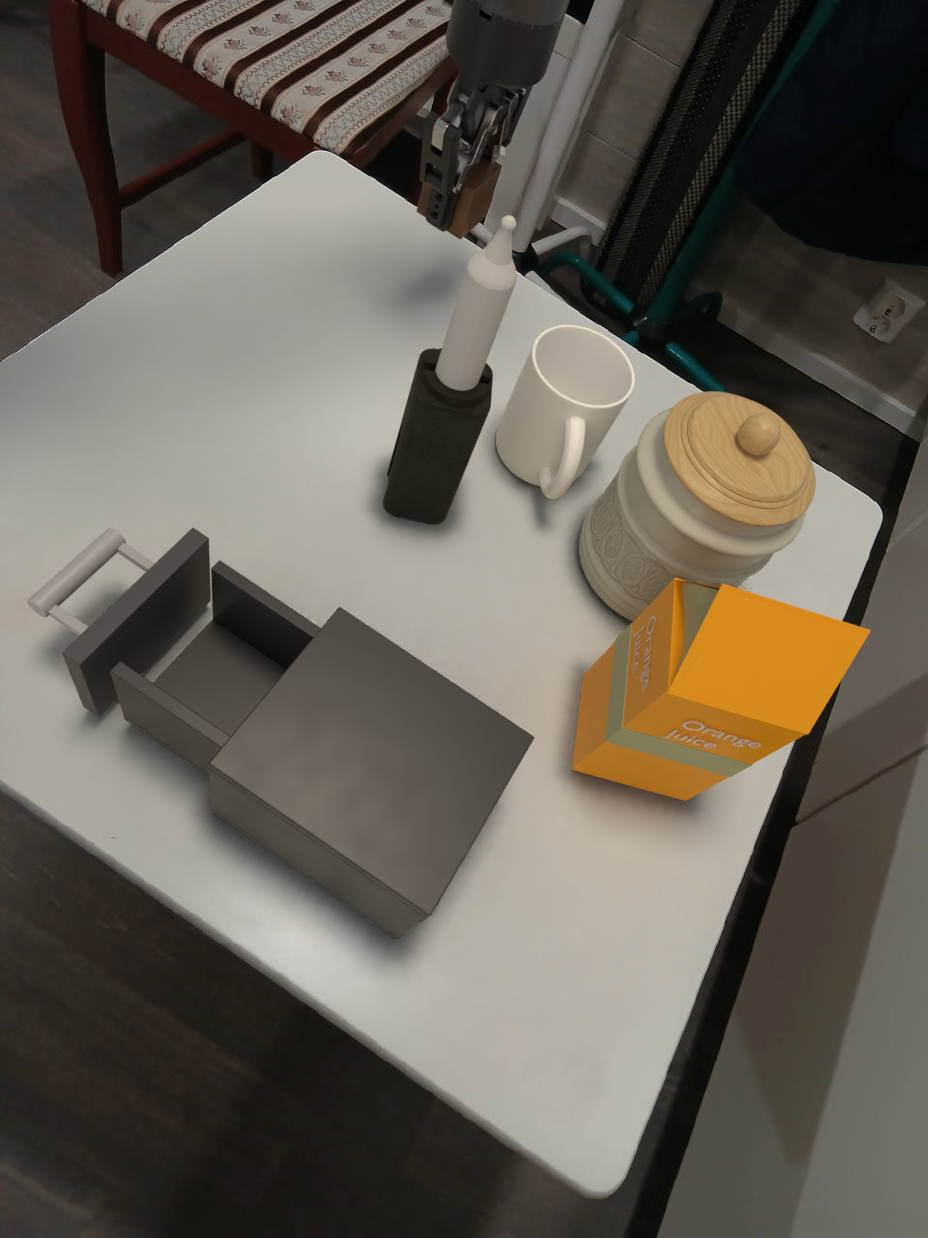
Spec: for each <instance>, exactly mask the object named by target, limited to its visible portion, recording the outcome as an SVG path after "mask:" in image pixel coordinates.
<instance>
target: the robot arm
mask: <svg viewBox="0 0 928 1238" xmlns="http://www.w3.org/2000/svg"><path fill="white" fill-rule="evenodd" d="M570 1H571V0H453V2H452V5H451V6H452V7H451V11H450V16H449V20H448V25H447V29H446V35H445V44H446V47H447V50H448V52H449V54H450V56H451V57H452V59H453V61H454V63H455V65H456V67H457V71H458V75H457V76H456V78H455V80H454V81H453V83H452V84H451V86H450V87H451V88H450V90H449V92H448V96H447V99H446V104H447V108H446V110H445V111H444V112H443V114H442V115H441V116H440V115H439V114H437V113H435V112H434V111H430V112H429V113H427V116H426V117H425V119H424V123H423V131H422V143H421V156H420V157H421V158H420V169H419V180H420V181H421V182H422V183H423V182H424V183H427V184H428V185H430V186H431V187H432V189H431V193H430V197H429V201H428V205H427V209H426V213H425V217H424V218H425V221H426V223H428V224H430V225H431V226H433V227H434V228H436V229H437V230H439V231H440V232H443V233H444V232H447V231H446V230H447V229H449V228H450V227H451V224H452V221H453V217H454V214H455V210H456V206H457V203H458V199H459V196H460V192H461V189H462V187H463V183H464V181H465V178H466V176H467V173H468V171H469V168H470V166H471V165H475V164H477V163H478V162H479V160H480V158H481V157H483V158H485V159H486V160H488V161H489V162H491V163H492V164H495V162H497V160H498V159H499V157H500V153H501V147H502V148H504V149H506V148H507V147H508V146H509V145H510V144H511V142H512V138H513V136H514V134H515V131H516V129H517V126H518V124H519V121H520V119H521V117H522V114H523V111H524V109H525V107H526V104H527V102H528V99H529V97H530V95H531V92H532V89H533V87H534V86H535V85H537V84H538V83H540V81H542V80H543V78H544V77H545V75H546V72H547V70H548V67H549V63H550V61H551V57H552V55H553V51H554V49H555V46H556V42H557V41H558V36H559V34H560V32H561V31H560V30H561V28H562V25H563V22H564V19H565V15H566V14H567V10H568V7H569V5H570ZM463 141H464V142H466V143H467V146H466V147H467V148H466V147H465V145H464V144H463ZM461 144H463V145H464V146H463V145H461ZM468 148H469V149H470V150H469V149H468ZM457 160H459V167H458V170H457V172H456V168H457Z"/></svg>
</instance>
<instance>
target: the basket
mask: <svg viewBox="0 0 928 1238" xmlns="http://www.w3.org/2000/svg"><path fill="white" fill-rule="evenodd" d="M117 554H118V555H120V556H122V557H123V558H124V559H126V560H128V561H129V562H131V563H132V564H133V565H135V566H137V568H140V569H141V570H142V571H144V573H143V574H142V575H141V576H140V577H139V578H137V580H136V581H135V582H134V583H133V584H131V586H130V587H129V588H127V589H126V590H125V591H124V592H123V594H122V595H120V596H119V597H118V598H117V599H116V600H115V601H114V602H113V603H112V604H111V605H110V606H109V607H108V608H107V609H105V610H104V612H102V614H100V616H98V617H97V618H96V619H95V620H94V621H93V622H92V623H91V624H90V625H89V626H88V625H86V624H85V623H84V622H82V621H81V620H80V619H78V618H77V617H75V616H74V615H72V614H71V613H69V612H68V611H66V610H65V609H63V608H62V607H60V606H61V605H62V604H64V603H65V601H67V600H68V598H69V597H71V596H72V595H73V594H74V593H75V592H77V590H79V589H80V587H82V586H83V585H84V584H86V582H87V581H88V580H89V579H90V578H92V577H93V576H94V575H95V574H96V573H97V572H98V571H99V570H100V569H102V568H103V566H105V565H106V564H107V563H108V562H109V561H110V560H112V558H113V557H115V555H117ZM210 560H211V559H210V538H209V537H208V536H207V535H205V534H204V533H203V532H201V531H199V530H198V529H196V528H195V527H192V528H190V529H189V531H187V532H186V533H185V534H184V535H183V536H182V537H181V538H179V540H178V541H177V542H176V543H175V544H174V545H173V546H171V547H170V549H168V550H167V551H166V552H165V553H164V554H163V555H162V556H161V557H160V558H159V559H158V560H157V561H156V562H153V561H152V560H151V559H150V558H148V557H146V556H145V555H143V554H142V553H140V552H139V551H137V550H136V549H135V548H133V547H131V546H130V545H128V544H127V540H126V539H125V537H124V536H123V535H122V534H121V533H120V532H119V531H118V530H116V529H115V528H112V527H108V528H107V529H106V530H104V531H103V532H102V533H100V535H99V536H98V537H97V538H95V539H94V540H93V541H92V542H90V544H89V545H88V546H86V547H85V548H84V549H82V551H81V552H80V553H78V554H77V555H76V556H75V557H73V559H72V560H71V561H69V562H68V563H67V564H66V565H65V566H64V567H62V569H60V570H59V571H58V572H57V573H56V574H55V575H53V577H51V578H50V579H49V580H48V581H47V582H45V584H43V585H42V586H41V587H40V588H39V589H38V590H37V591H36V592H34V593H33V594H32V595H31V596H30V597H29V598H27V600H26V603H27V605H28V607H29V608H30V609H31V610H32V611H33V612H35V613H36V614H37V615H39V616H40V617H42V618H48V617H49V616H50V618H52V619H54V620H55V621H57V622H58V623H59V624H61V625H63V626H64V627H65V628H67V629H68V630H70V631H71V632H73V633H74V634H75V635H77V637H76V638H75V639H74V640H73V641H72V642H71V643H70V644H69V645H68V646H67V647H65V649H64V650H62V652H61V655H62V658H63V660H64V663H65V664H66V668H67V670H68V673H69V675H70V678H71V680H72V682H73V685H74V687H75V689H76V692H77V694H78V697H79V699H80V702H81V704H82V707H83V708H84V709H85V710H87V711H89V712H90V713H91V714H93V715H94V716H95V717H97V718H100V717H101V716H102V715H103V714H104V713H105V712H106V711H107V710H108V709H109V708H110V707H111V706H112V705H113V704H114V703H115V702H116V701H117V700H118V702H119V706H120V709H121V712H122V717H123V719H124V721H126V722H127V723H129V724H130V725H132V726H133V727H135V728H136V729H138V730H139V731H141V733H143V734H145V735H146V736H148V737H149V738H151V739H152V740H153V741H155V742H156V743H158V744H160V745H161V746H162V747H163V748H165V749H167V750H168V751H169V752H171V753H172V754H174V755H175V756H177V757H178V758H179V759H181V760H183V762H185V763H187V764H188V765H190V766H191V767H193V768H194V769H196V770H197V771H198V772H200V773H201V774H202V775H204V776H206V777H207V778H209V762H210V761H211V760H212V758H213V757H214V756H215V755H216V754H217V752H218V751H219V750H220V749H221V748H222V746H223V745H224V744H225V743H226V742H227V740H228V739H229V738H230V737H231V736H232V734H233V733H234V732H235V731H236V730H237V728H238V727H239V726H240V725H241V724H242V722H243V721H244V720H245V719H246V718H247V716H248V715H249V714H250V713H251V712H252V710H253V709H254V708H255V707H256V706H257V704H258V703H259V702H260V701H261V700H262V698H263V697H264V696H265V695H266V694H267V692H268V691H269V690H270V689H271V688H272V686H273V685H274V684H275V683H276V682H277V680H278V679H279V678H280V677H281V676H282V674H283V673H284V672H285V671H286V670H287V669H288V667H289V666H290V665H291V664H292V663H293V661H294V660H295V659H296V658H297V657H298V655H299V654H300V653H301V652H302V651H303V649H304V648H305V647H306V646H307V645H308V643H309V642H310V641H311V640H312V639H313V637H314V636H315V635H316V634H317V633H318V631H319V630H320V629H321V628H322V627H320V626H319V625H317V624H316V623H314V622H313V621H311V620H310V619H309V618H307V617H306V616H304V615H303V614H301V613H300V612H298V611H297V610H295V609H293V608H292V607H290V606H289V605H288V604H286V603H285V602H283V601H281V600H280V599H278V598H277V597H276V596H274V595H273V594H271V593H270V592H268V591H266V590H265V589H264V588H262V587H261V586H259V585H258V584H256V583H255V582H253V581H252V580H250V579H249V578H247V577H246V576H244V575H243V574H241V573H240V572H238V571H237V570H235V569H234V568H233V567H231V566H230V565H228V564H226V563H225V562H223V561H222V560H221V559H220V560H219V559H218V561H217V562H216V563H215V564H213V566H212V567H211V561H210ZM210 602H211V606H212V607H211V608H212V609H211V610H212V612H211V613H212V619H211V620H210V621H209V623H208V624H207V625H206V626H205V627H204V628H203V629H202V630H201V631H200V632H199V633H198V634H197V635H196V637H194V638H193V640H192V641H191V642H190V643H189V644H188V645H186V647H185V648H184V649H183V650H182V651H181V652H180V653H179V655H178V656H177V657H175V659H174V660H173V661H172V662H171V663H170V664H169V665H168V666H167V667H166V668H165V669H164V670H163V672H162V673H161V674H160V675H159V676H158V677H157V678H155V680H154V681H153V682H152V681H150V680H149V679H148V678H146V677H145V676H143V675H142V673H143V672H144V671H145V670H146V669H147V668H148V667H149V666H150V665H151V664H152V663H153V662H154V661H155V660H156V659H157V658H158V657H159V655H161V654H162V653H163V652H164V650H165V649H166V648H167V647H168V646H169V645H170V644H171V643H173V641H174V640H175V639H176V638H177V637H178V636H179V635H180V634H181V633H182V632H183V630H184V629H186V627H188V625H190V623H191V622H192V621H193V620H194V619H195V618H196V617H197V616H198V615H199V614H200V613H201V612H202V611H203V610H204V609H205V608H206V607H207V606H208V605H209V603H210Z"/></svg>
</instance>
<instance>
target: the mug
mask: <svg viewBox="0 0 928 1238" xmlns="http://www.w3.org/2000/svg"><path fill="white" fill-rule="evenodd" d="M635 375H636V374H635V370H634V367H633V365H632V362H631V360H630V359H629V357H628V356H627V354H626V353H625V351H623V349H622V348H621V347H620V346H619V345H618V344H616V342H614V341H613V340H612V339H610V338H609V337H608V336H606V335H604V334H603V333H600V332H599V331H596V330H595V329H592V328H589V327H585V326H582V325H575V324H559V325H554V326H552V327H549V328H547V329H545V330H544V331H542V332H541V333H540V334H539V335H537V337H536V338H535V339H534V342H533V343H532V345H531V348H530V351H529V353H528V355H527V358H526V360H525V362H524V364H523V367H522V369H521V371H520V373H519V376H518V378H517V380H516V383H515V385H514V387H513V390H512V392H511V394H510V397H509V399H508V401H507V403H506V406H505V408H504V411H503V413H502V415H501V418H500V420H499V422H498V426H497V428H496V433H495V446H496V450H497V453H498V456H499V458H500V460H501V461H502V463H503V464H504V465H505V467H506V469H508V470H509V471H510V472H511V473H512V474H514V475H515V477H517V478H519V479H520V480H522V481H524V482H526V483H528V484H531V485H533V486H536V487H537V486H538V487H540V490H541V492H542V494H543V495H544V496H545V497H546V498H548V499H550V500H556V499H559V498H561V497H562V496H564V495H565V494H566V492H567V491H568V489H570V487H571V485H572V483H573V482H574V481H575V480H577V479H578V478H579V477H580V476H581V475H582V474H583V473H584V472H585V470H586V468H587V467H588V465H589V464H590V462H591V460H592V459H593V457H594V455H595V454H596V453H597V451H598V449H599V447H600V446H601V444H602V443H603V441H604V439H605V438H606V436H607V434H608V433H609V431H610V429H611V428H612V426H613V425H614V423H615V422H616V420H617V418H618V417H619V415H620V413H621V411H622V410H623V408H624V407H625V406H626V403H627V402H628V400H629V398H631V395H632V394H633V392H634V389H635V384H636V376H635Z"/></svg>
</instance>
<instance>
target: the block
mask: <svg viewBox="0 0 928 1238" xmlns="http://www.w3.org/2000/svg"><path fill="white" fill-rule="evenodd" d="M461 145H463V146H465V145H464V144H463V143H462V144H461ZM465 147H466V148H468V146H465ZM468 149H469V148H468ZM469 150H470V149H469ZM458 167H459V160H457V168H456V172H457V170H458ZM501 171H502V170H501V168H500V167H499V166H498V165H495V163H493V164H492V163H491V162H489V161H488V160H486V159H485V158H483V157H481V158H480V160H479V162H478V163H477V164H475V165H471V166H470V168H469V171H468V173H467V176H466V178H465V181H464V183H463V187H462V189H461V192H460V196H459V199H458V203H457V206H456V210H455V214H454V217H453V221H452V224H451V227H450V228H449V229H447V230H446V231H445V232H447V233H449V234H450V235H452V236H453V237H455V238H457V239H458V240H462V239H463V238H464V237H466V235H468V233H470V232H471V231H472V230H473V229H474V228H475V227H477V226H478V225H479V224H480V223H481V222H482V221H483V220H484V219H485V218H486V217H487V215H488V211H489V208H490V206H491V202H492V199H493V196H494V192H495V189H496V186H497V183H498V180H499V178H500V174H501ZM431 189H432V187H431V186H430V185H428V184H427V183H424V182H422V186H421V190H420V195H419V199H418V203H417V206H416V213H418V214H419V215H421V216H422V217H424V218H425V213H426V209H427V205H428V201H429V197H430V193H431Z"/></svg>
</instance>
